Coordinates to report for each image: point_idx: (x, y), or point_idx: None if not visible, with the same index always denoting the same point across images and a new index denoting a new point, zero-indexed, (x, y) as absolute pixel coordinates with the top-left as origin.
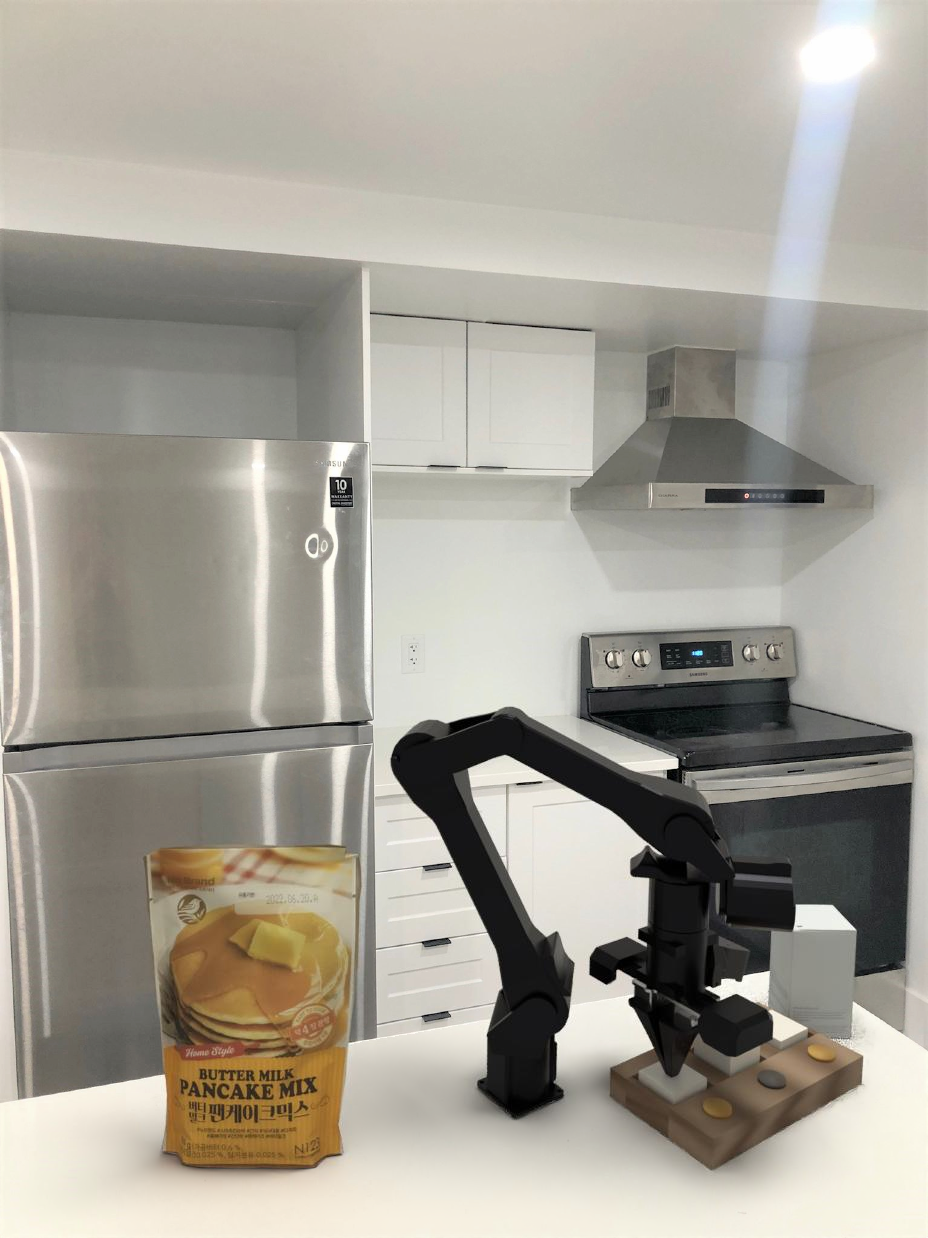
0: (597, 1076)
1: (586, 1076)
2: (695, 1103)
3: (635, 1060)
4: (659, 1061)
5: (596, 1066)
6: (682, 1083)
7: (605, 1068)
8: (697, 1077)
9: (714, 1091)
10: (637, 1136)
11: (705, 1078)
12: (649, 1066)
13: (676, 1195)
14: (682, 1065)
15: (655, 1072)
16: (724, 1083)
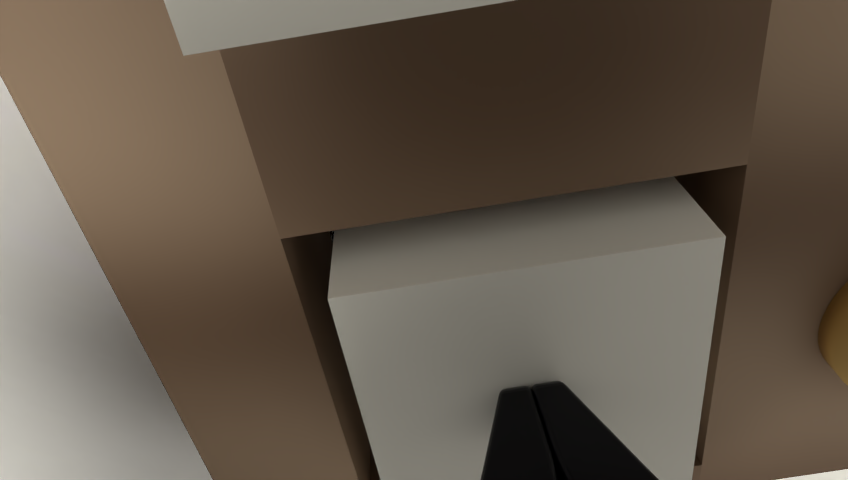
0: (103, 398)
1: (92, 433)
2: (773, 376)
3: (226, 440)
4: (360, 403)
5: (10, 368)
6: (648, 405)
7: (36, 342)
8: (668, 291)
9: (790, 209)
10: None
11: (722, 252)
12: (385, 474)
13: (844, 471)
14: (611, 434)
15: (460, 475)
16: (789, 69)
